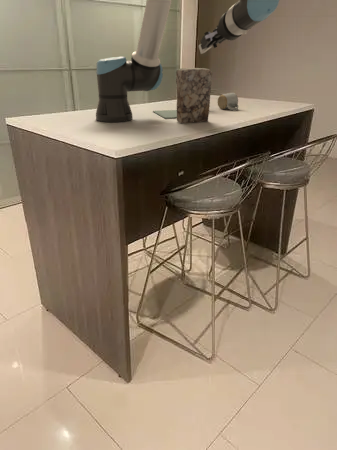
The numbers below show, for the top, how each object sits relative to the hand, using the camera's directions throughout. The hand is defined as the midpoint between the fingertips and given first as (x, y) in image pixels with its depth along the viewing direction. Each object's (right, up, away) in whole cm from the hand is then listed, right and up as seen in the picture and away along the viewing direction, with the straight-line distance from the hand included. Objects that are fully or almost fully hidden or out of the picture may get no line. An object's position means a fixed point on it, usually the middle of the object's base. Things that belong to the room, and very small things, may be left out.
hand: (201, 49), depth 118 cm
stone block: (-2, -19, +22) cm, 29 cm away
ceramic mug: (+19, -2, +55) cm, 58 cm away
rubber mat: (-7, -10, +38) cm, 40 cm away
